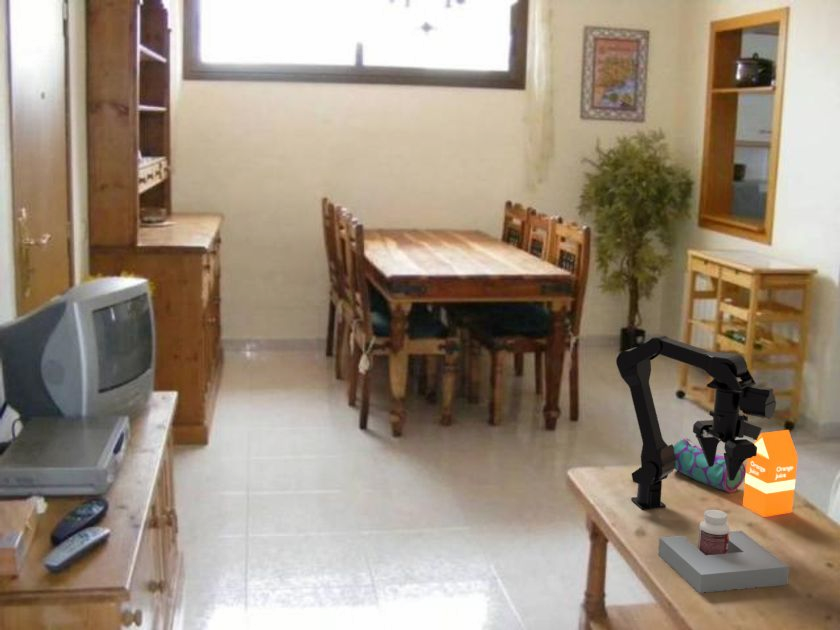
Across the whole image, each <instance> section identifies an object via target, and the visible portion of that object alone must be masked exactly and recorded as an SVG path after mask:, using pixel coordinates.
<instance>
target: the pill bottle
mask: <svg viewBox="0 0 840 630" xmlns="http://www.w3.org/2000/svg"><path fill="white" fill-rule="evenodd" d="M703 518H704V520H702V521H701V522H700V524H699V532H698V544H697V548H698V549H699V550H700V551H701V552H702V553H703V554H705V555H716V554H727V552H728V542H729V532H730V526H729V524H728V523H727V520H728V514H727V513H726V512H724V511H722V510H718V509H707V510H705V511H704V514H703Z"/></svg>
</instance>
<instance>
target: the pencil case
mask: <svg viewBox="0 0 840 630" xmlns="http://www.w3.org/2000/svg"><path fill="white" fill-rule="evenodd" d="M673 447H674V454H675V457H676V458H677V461H675V462H676V466H675V468H674V470H676V471H678V472H680V473H681V474H682V475H685V476H687V477H689V478H691V479H693V480H695V481H696V482H700V483H702V484H704V485H706V484H707V486H710V487H712V488H714V489H718V490H722V491H725V492H727V493H729V494H732V493H734V492H735V491H737V489H738V488H739V487H740V486H741V485H742V483H744V481H745V476H746V468H747V467H746V466H745V463H744V462H743V463H742V465H741V467H740V469H739V471H738V473H737V475H736V477H735V479H734V480H733V481H730V480H729V478H728V474H727V469H726V464H725V459H724V455H721V454H720V455H719V454H717V453H716V456H715V461H714V465H713V467H709V466H708V464H707V461H706V458H705V456H704V453H703V451H702V448H701V447H699V446H697V445H695V444H694V443H693V442H692V441H691V439H690V438H688V437H686V438H683V439H680V440H679V441H676V442H675V443H674V445H673Z"/></svg>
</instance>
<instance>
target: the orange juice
mask: <svg viewBox="0 0 840 630" xmlns="http://www.w3.org/2000/svg"><path fill="white" fill-rule="evenodd" d="M753 443H754V444H755V445H756V447H757V455H756V456H753V457H752V458H748V459H746V467H745V468H746V474H745V478H744V487H743V488H744V490H743V499H742V500H743V501H742V506H743V507H745V508H746V509H748V510H750V511H752V512H754V513H756V514H758V515H759V516H761V517H763V518H765V517H766V518H767V517H771V516H777V515H782V514H783V515H784V514H789V513H792V512H793V504H794V503H793V502H794V495H795V494H794V493H795V488H796V487H795V486H796V477H797V466H798V458H799V457H798V454H797V451H796V448H795V444H794V442H793V439H792V437H791V433H790V430H789V429H785V430H777V431H770V432H760V434H759V437H758V439H757V440H754V442H753Z"/></svg>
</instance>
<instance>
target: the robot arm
mask: <svg viewBox="0 0 840 630" xmlns="http://www.w3.org/2000/svg"><path fill="white" fill-rule="evenodd" d="M659 356H664V357H667V358H669V359H673V360H675V361H678V362H680V363H684V364H687V365H690V366H692V367H695V368H698V369H701V370H702V371H704V372H705V373H706V374H707V375H708V376H709V377H711V378H713V379H712V380H711V381H710V382H709V383H707V384H706V387H707V388H709V389H714V390H715V391H714V403H713V410H709V416H711V417H712V420H711V419H709V420H707V419H706V420H696V421H695V422H694V424H693V427H692V433H694V435H695V438H696V439H697V441H698V443H699V446H700V449H702V451H703V453H704V456H705V458H706V461H707V464H708V466H709V467H713V465H714V461H715V456H716V454H717V451H718V445H719V443H723V444H724V447H723V448H724V453H723V457H724V459H725V464H726V469H727V474H728V478H729V480H730V481H733V480H734V479H735V477H736V475H737V473H738V471H739V469H740V467H741V465H742V463H743V464H744V462H745V461H747V459H748V458H752V457H753V456H756V455H757V447H756V445H755V444H754V442H752V441H750V440H748V439H746V438H744V436H745V437H748V438H751V439H752V440H754V441H756V440H757V439H758V437H759V436H760V434H761V433H762V430H763V427H761V426H759V425H758V424H756V423H754V422H752V421H750V420H749V418H748V416H747V415H749V416H753V417H758V418H761V419H766V420H770V419H771V418H772V417H773V415H774V414H775V411H776V408H777V407H776V405H777V401H776V396H775V394H774V389H773V388H771V387H762V386H757V385H756V381H755V378H754V377H753V376H752V374H751V372H750V371H749V369H748V364H747V361H746V358H745V357H743V355H740V354H737V353H730V352H720V351H717V352H716V351H710V350H706V349H704V348H700V347H697V346H694V345H691V344H688V343H685V342H682V341H679V340H676V339H673V338H669V337H668V336H667V335H658V336H653V337H651V338H650V339H649V340H647V341H646V342H644V343H643V344H640V345H638V346H636V347H632V348H630V349H627V350H623V351H621V352H620V353H619V354H618V356H617V357H616V358H615V362H616V366H617V369H618V372H619V374H620V376H621V379H622V380H623V381H624V382H625V383H626V384H627V386H628V388H629V391H630V395H631V399H632V403H633V404H632V405H633V408H634V412H635V415H636V420H637V424H638V429H639V431H640V437H641V441H642V448H641V453H640V464H641V465H640V466H641V467H639V468H637V469H636V470H635V471H633V472H632V473H631V479H632V482H633V483H635V484H637V491H636V497H635V496H634V497H631V498H630V500H631V501H632V503H633V502H634V504H635V505H637V506H638V507H639V508H640V509H642V510H649V509H650V510H651V509H662V508H666V506H667V505H666V504H665V503H664V502H663V501H662V499H661V498H662V488H663V487H662V485H663V480H665V479H668V477H669V475H670V474H671V473H673V472H674V470H675V469H674V468H675V466H676V462H675V461H677V458H676V457H675V454H674V447H673V446H674V445H673V444H667V442H665V440H664V438H663V434H662V432H661V427H660V423H659V419H658V415H657V411H656V406H655V402H654V398H653V394H652V390H651V385H650V378H651V373H652V365H651V361H652V360H654V359H657V358H658V357H659ZM739 379H740V380H739ZM738 380H739V381H738ZM740 411H742V413H740ZM736 438H738V439H736ZM743 438H744V439H743Z"/></svg>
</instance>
